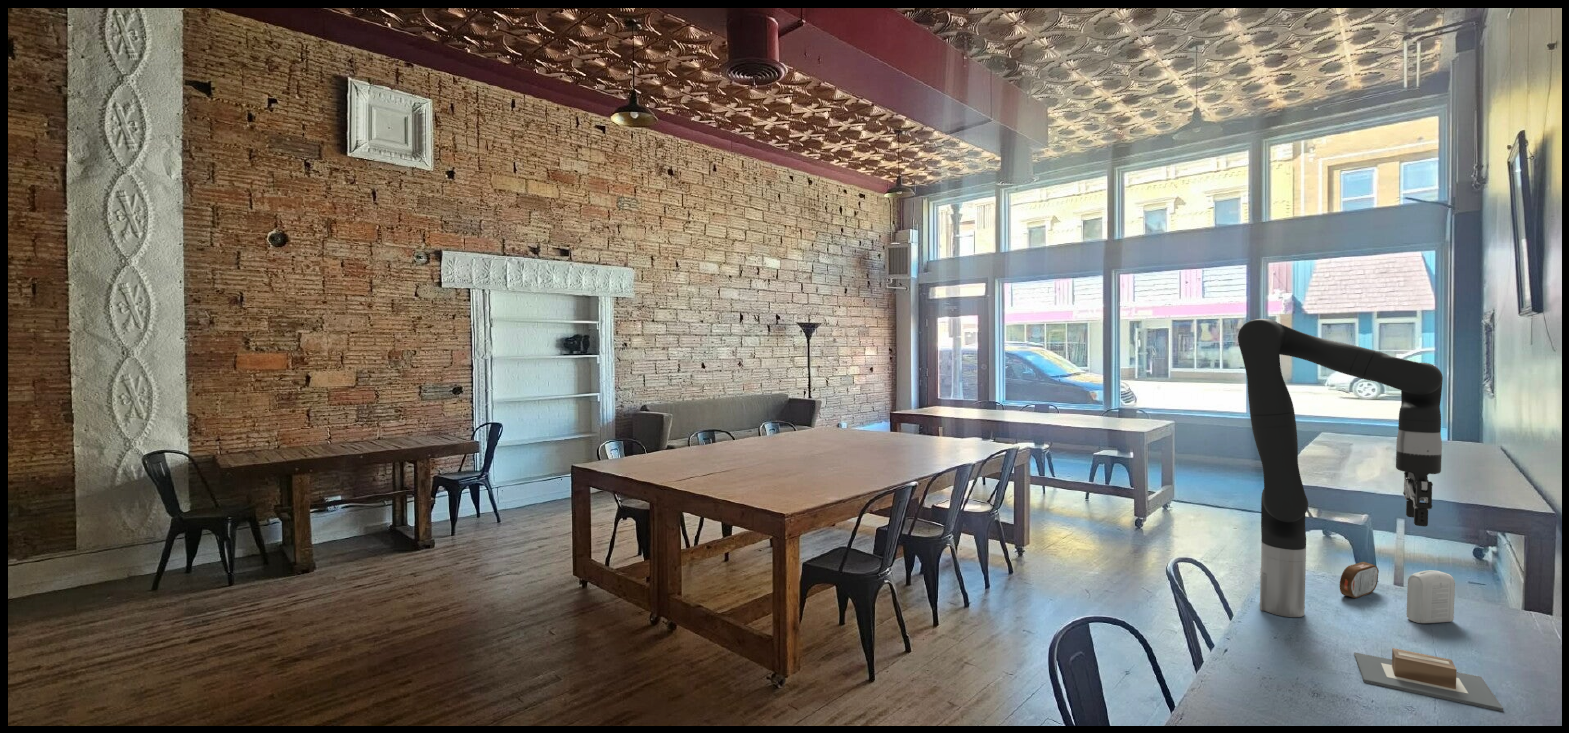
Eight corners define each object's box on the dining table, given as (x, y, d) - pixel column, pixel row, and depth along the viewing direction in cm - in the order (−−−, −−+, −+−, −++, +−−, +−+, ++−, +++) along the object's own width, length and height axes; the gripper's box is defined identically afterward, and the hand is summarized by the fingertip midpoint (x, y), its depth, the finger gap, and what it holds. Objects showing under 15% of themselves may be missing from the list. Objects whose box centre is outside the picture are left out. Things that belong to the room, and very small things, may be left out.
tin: (1366, 588, 188) (1367, 558, 188) (1380, 592, 185) (1381, 561, 185) (1337, 598, 182) (1338, 567, 181) (1351, 602, 179) (1352, 570, 178)
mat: (1363, 682, 138) (1364, 678, 138) (1354, 655, 150) (1354, 651, 150) (1503, 711, 127) (1503, 708, 127) (1481, 679, 138) (1481, 676, 138)
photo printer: (1438, 615, 170) (1439, 567, 169) (1457, 622, 166) (1459, 572, 165) (1402, 618, 168) (1404, 569, 168) (1421, 625, 164) (1422, 575, 164)
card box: (1455, 689, 133) (1456, 669, 133) (1394, 676, 139) (1395, 656, 139) (1451, 679, 137) (1451, 659, 137) (1391, 666, 143) (1392, 647, 143)
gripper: (1449, 457, 145) (1447, 531, 146) (1433, 447, 157) (1431, 516, 158) (1402, 454, 150) (1400, 526, 150) (1390, 445, 161) (1388, 512, 162)
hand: (1416, 521), depth 154 cm, fingers open, 8 cm apart
